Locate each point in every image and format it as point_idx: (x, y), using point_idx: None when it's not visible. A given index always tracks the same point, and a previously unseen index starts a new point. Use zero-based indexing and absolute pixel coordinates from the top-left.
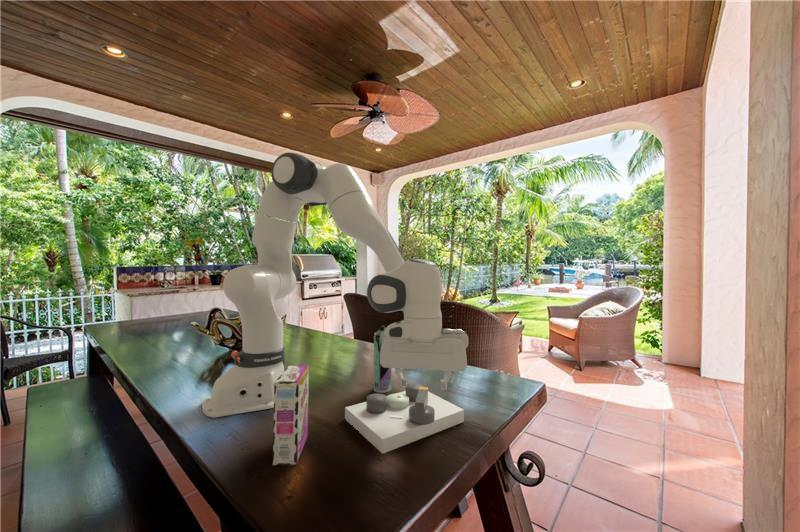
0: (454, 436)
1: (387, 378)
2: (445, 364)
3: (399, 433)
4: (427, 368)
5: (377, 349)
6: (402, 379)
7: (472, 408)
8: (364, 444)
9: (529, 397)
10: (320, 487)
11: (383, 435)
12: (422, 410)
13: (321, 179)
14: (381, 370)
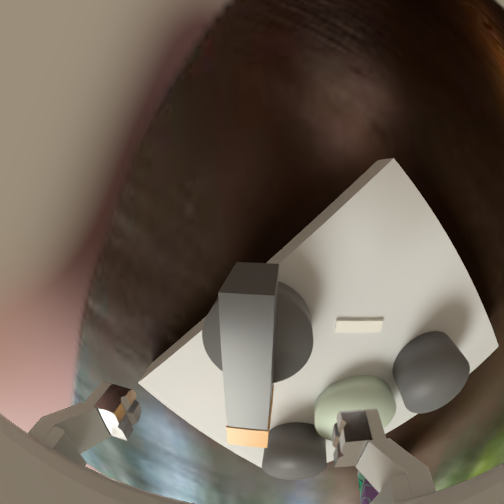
0: (164, 290)
1: (372, 489)
2: (15, 464)
3: (339, 209)
4: (146, 499)
5: None
6: (368, 443)
7: (147, 413)
8: (435, 207)
9: None
10: (460, 38)
11: (395, 185)
12: (236, 277)
13: None
14: None
